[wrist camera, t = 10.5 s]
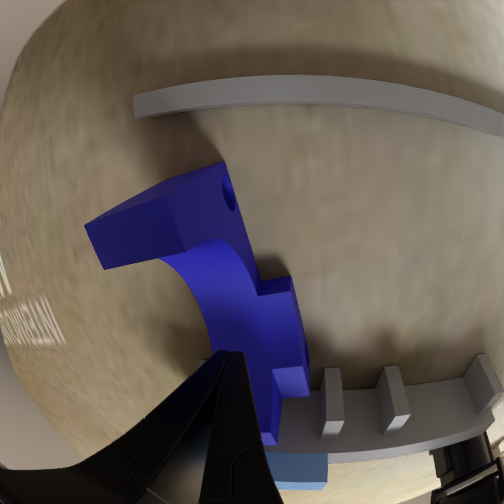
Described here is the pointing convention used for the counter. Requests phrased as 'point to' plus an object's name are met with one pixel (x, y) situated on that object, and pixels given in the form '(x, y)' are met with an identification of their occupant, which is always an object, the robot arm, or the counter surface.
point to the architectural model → (495, 454)
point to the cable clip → (216, 278)
